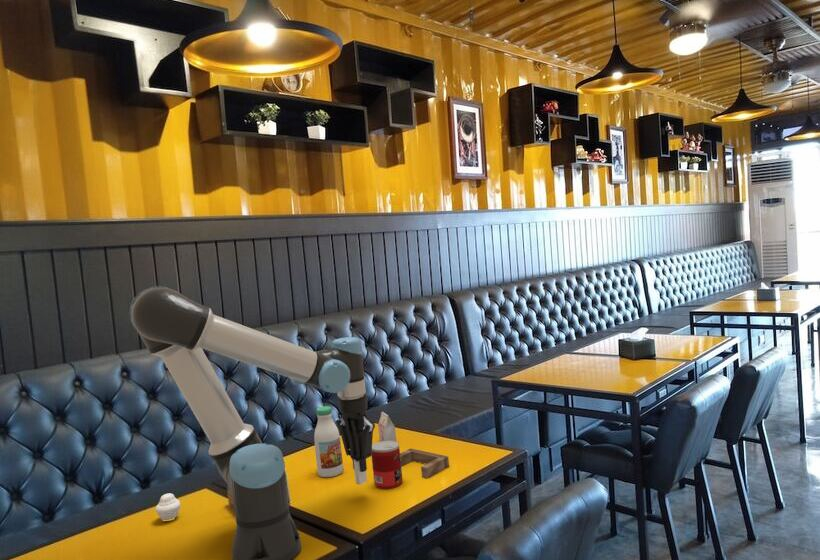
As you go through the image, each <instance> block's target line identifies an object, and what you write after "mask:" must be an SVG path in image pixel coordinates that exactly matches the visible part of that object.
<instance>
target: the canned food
mask: <svg viewBox="0 0 820 560" xmlns="http://www.w3.org/2000/svg"><path fill="white" fill-rule="evenodd" d="M400 453H401V450H400V444H399V442H398V441H396V442H394V441H382V442H380V441H378V442H375V443H372V453H371V465H372V472H373V473H372V475H373V480H374V484H375V485H374V486H375V487H376V488H378V489H382V490H383V489H384V490H385V489H386V490H388V489H395V488H397V487H400V486H401V485H402V483H403V472H402V466H401V459H400Z"/></svg>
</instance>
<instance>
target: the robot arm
mask: <svg viewBox="0 0 820 560" xmlns="http://www.w3.org/2000/svg"><path fill="white" fill-rule="evenodd" d="M128 314H129V320H130V322H131V324H132V326H133V328H134V329H135V330H136V331H137V333H138V335H139V336H140V338H141V340H142V342H143V343H144V344H145V346H146V349H147V350H148V352H149V353H150V355H151V356H153V357H154V356H155V357H159V358H161V359H162V361H163V363H164V364H165V367H166V368H167V370H168V371H169V373H170V375H171V377H172V379H173V381H175V384H176V385H177V387H178V389H179V391H180V392H181V394H182V396H183V397H184V399H185V401H186V403H187V404H188V406H189V408H190V409H191V411H192V413H193V415H194V416H195V418H196V420H197V422H198V423H199V425H200V427H201V428H202V430H203V432H204V433H205V435H206V437H207V439H208V441H209V442H210V445H209V449H208V455H209V456H210V457H211V460H212V461H213V463H214V465H215V466H216V468H217V471H218V474H219V475H220V477H221V478H222V479H223V481H224V482H225V484H226V485H227V486H228V488H229V490H230V492H231V494H232V497H233V505H234V506H233V507H234V513H235V514H234V516H235V521H236V523H235V524H236V528H235V532H234V537H233V543H232V547H231V560H291V559H292V560H293V559H295V556H296V555H297V556H298V555H299V553H300V551H301V549H302V543H301V542H302V541H301V534H300V533H299V531H298V529H297V527H296V524H295V522H294V520H293V518H292V516H291V513H290V507H289V497H288V488H287V479H286V478H287V476H286V464H285V463H286V462H285V458H284V454H283V452H282V451H281V449H280V448H279V447H278V446H276V445H273V444H267V443H263V442H262V440H261V438H260V436H259V434H258V432H257V431H256V429H255V428H254V425H252V424H249V423H244V421H243V420H242V418H241V416H240V414H239V413H238V411H237V409H236V407H235V405H234V403H233V402H232V400H231V398H230V396H229V395H228V393H227V391H226V389H225V388H224V387H225V386H224V385H223V384H222V382H221V380H220V378H219V377H218V375H217V373H216V371H215V370H214V368H213V366H212V364H211V362H210V361H209V359H208V357H207V355H206V354H205V352H204V350H206V351H209V352H212V353H215V354H219V355H221V356H224V357H227V358H230V359H233V360H236V361H240V362H241V363H245V364H248V365H251V366H254V367H256V368H259V369H263V370H265V371H269V372H272V373H275V374H277V375H281V376H283V377H286V378H289V379H290V382H291V383H292V384H293V385H294V386H296V385H298V386H299V385H310V386H312V387H315V388H319V389H322V391H324V392H327V393H331V394H332V393H333V394H336V393H337V397H338V407H339V408H338V410H339V412H340V414H341V417H340V418H339V419H337V420H336V421H335V422H336V423H335V424H336V426H337V428H338V430H339V434H340V438H341V440H342V444H343V448H344V452H345V455H346V456H348V457H350V458H351V461H352V468H353V471H354V477H355V479H354V480H355V484H356V485H362V484H364V483H366V482H368V478H367V476H368V475H367V469H368V468H367V459H369V458H370V457H371V458H372V456H371V453H372V445H373V435H374V429H375V427H376V424H375V422H372V423H371V422H370V421H369V420H368V416H367V413H366V411H367V409H368V406H369V405H368V398H367V395H366V392H367V391H366V380H365V371H364V360H363V356H364V355H363V350H362V345H361V341H360V339H359V338H358V337H355V336H347V337H339V338H335V339H334V340H332V342H331V348H328V349H323V350H322V349H321V350H317V351H314V350H310V349H308V348H305V347H303V346H300V345H297V344H294V343H291V342H289V341H286V340H283V339H282V338H278V337H276V336H273V335H271V334H267V333H264V332H262V331H260V330H256V329H255V328H251V327H248V326H245V325H243V324H240V323H238V322H235V321H233V320H229V319H227V318H224V317H221V316H218V315H216V314H214V313H213V311H212V309H211V308H210V307H207V306H205V305H203V304H200V303H197V302H196V301H194V300H193V299H191V298H189V297H187V296H185V295H183V294H182V293H180V291H179V292H178V291H177V290H175V289H172V288H170V287H166V286H158V285H157V286H152V287H148V288H145V289H144V290H143V291H141V292H139V293H137V295H135V297H134V298H133V300H132V302H131V303H130V308H129V313H128ZM297 556H296V557H297Z"/></svg>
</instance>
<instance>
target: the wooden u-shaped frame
mask: <svg viewBox="0 0 820 560" xmlns="http://www.w3.org/2000/svg"><path fill="white" fill-rule="evenodd" d="M400 459H401V467H404V466H405V465H407V464H409V463H411V462H414V461H416V462H415V463H418V462H421V463H420V464H423V463H426V464H423V465H422V466H420V471H421V477H422V478H423V477H424V478H425V479H429V478H432V477H433V476H434V474H435V475H436V474H438V473H441V472H442V471H443V470H445V469H447V468H449V467H450V459H449V456H448V455H443V454H439V453H434V452H430V451H429V452H428V451H424V450H420V449H415V448H409V449H408V448H407V449H406V450H404V451H402V452H400Z"/></svg>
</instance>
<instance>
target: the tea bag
mask: <svg viewBox="0 0 820 560" xmlns="http://www.w3.org/2000/svg"><path fill="white" fill-rule="evenodd" d="M377 425H378V427H377V428H378V434H379V442H380V441H381V442H382V441H394V442H397V433H396V426H395V425H394V423H393V422H392V419H391V418H390V416H389V415H388V414H386V413H385V412H384V411H380V418H379V421H378V424H377Z"/></svg>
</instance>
